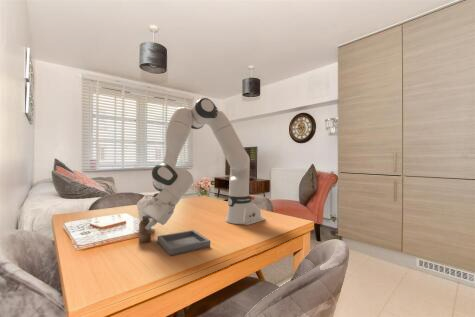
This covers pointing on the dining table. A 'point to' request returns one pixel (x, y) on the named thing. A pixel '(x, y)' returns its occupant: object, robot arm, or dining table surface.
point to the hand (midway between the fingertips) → (143, 227)
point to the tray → (183, 242)
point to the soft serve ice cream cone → (142, 206)
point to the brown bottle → (144, 231)
